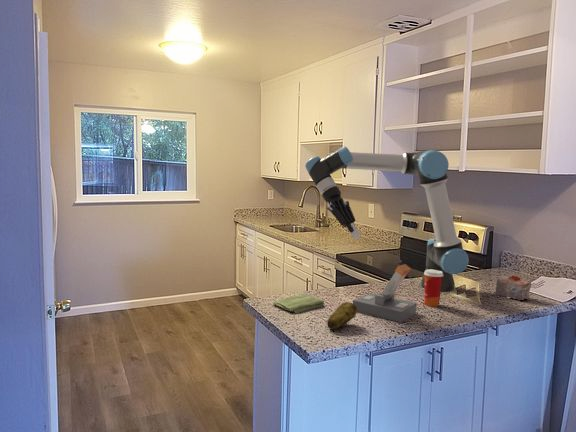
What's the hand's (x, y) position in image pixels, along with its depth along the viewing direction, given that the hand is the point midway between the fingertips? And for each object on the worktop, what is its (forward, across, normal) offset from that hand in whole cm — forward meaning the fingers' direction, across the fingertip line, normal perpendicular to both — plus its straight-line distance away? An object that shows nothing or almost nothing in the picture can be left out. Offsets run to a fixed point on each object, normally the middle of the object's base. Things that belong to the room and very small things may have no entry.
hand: (358, 238), depth 186 cm
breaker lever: (+26, +4, -2) cm, 27 cm away
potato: (+27, +30, -5) cm, 41 cm away
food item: (+52, -55, +17) cm, 77 cm away
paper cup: (+37, -18, +2) cm, 41 cm away
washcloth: (+13, +23, -25) cm, 37 cm away
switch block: (+30, +5, -4) cm, 31 cm away
